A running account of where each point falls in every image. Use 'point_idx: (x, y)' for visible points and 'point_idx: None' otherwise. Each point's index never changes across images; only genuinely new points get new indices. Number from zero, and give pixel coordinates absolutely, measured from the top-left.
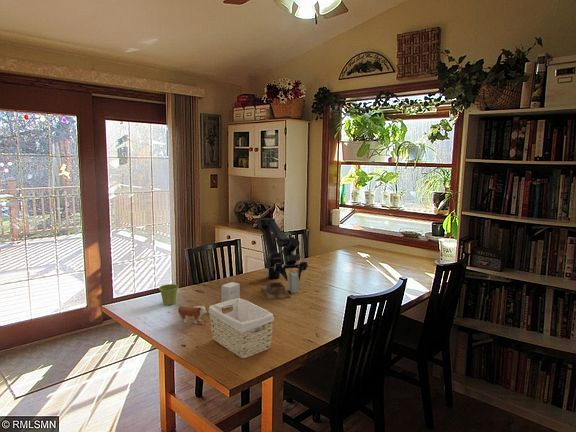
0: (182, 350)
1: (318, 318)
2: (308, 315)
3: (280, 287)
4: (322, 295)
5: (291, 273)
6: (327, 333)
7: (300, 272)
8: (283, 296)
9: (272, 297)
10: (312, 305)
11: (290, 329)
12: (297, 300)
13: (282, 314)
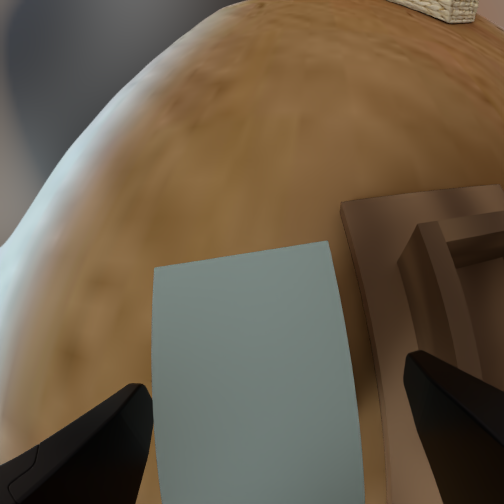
0: (490, 22)
1: (228, 38)
2: (257, 45)
3: (464, 221)
4: (75, 253)
5: (310, 482)
6: (234, 10)
7: (29, 458)
8: (400, 195)
9: (475, 187)
10: (205, 105)
11: (325, 10)
12: (282, 158)
13: (363, 48)
